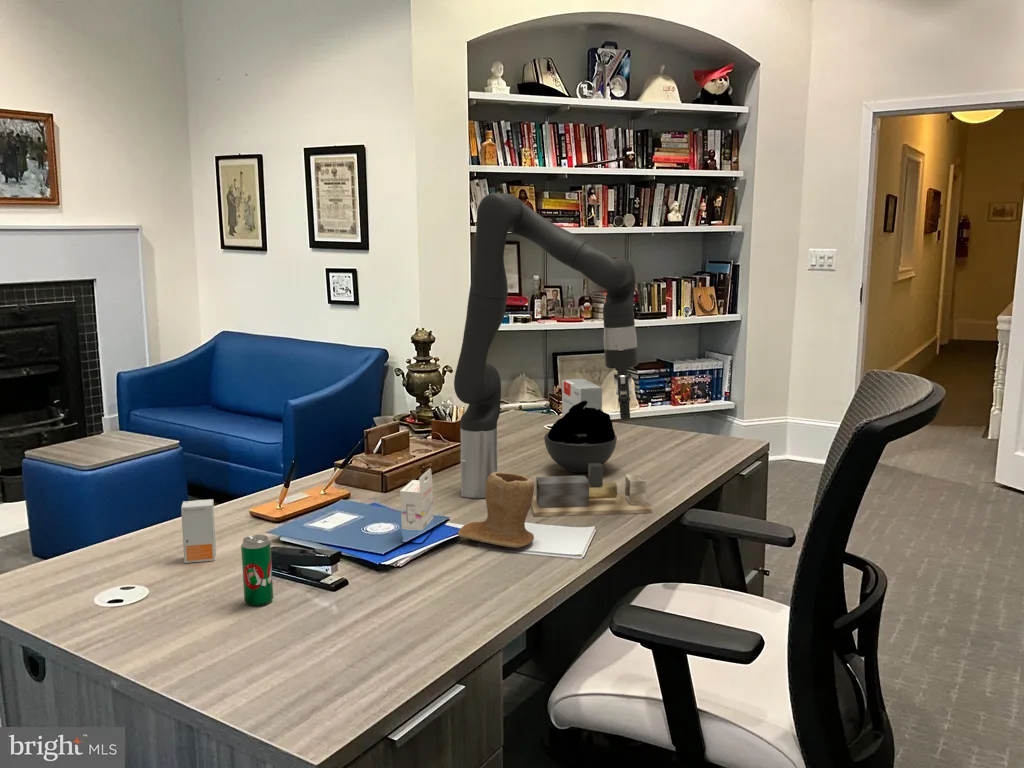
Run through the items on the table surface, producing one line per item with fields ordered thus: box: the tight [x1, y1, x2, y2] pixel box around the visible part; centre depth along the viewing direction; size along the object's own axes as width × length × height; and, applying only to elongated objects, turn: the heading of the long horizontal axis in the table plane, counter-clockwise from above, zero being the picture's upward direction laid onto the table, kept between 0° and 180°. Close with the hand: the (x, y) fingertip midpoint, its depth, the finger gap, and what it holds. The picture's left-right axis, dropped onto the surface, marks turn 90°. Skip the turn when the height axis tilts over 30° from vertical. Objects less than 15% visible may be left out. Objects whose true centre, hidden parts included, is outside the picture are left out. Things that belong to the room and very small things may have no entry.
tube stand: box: [530, 473, 652, 518], centre depth 208 cm, size 28×12×7 cm, turn 95°
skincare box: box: [180, 498, 217, 564], centre depth 175 cm, size 6×4×12 cm
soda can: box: [240, 534, 274, 607], centre depth 155 cm, size 5×5×12 cm
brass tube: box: [587, 463, 618, 499], centre depth 208 cm, size 17×4×8 cm, turn 95°
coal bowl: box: [544, 401, 618, 474], centre depth 238 cm, size 20×20×19 cm
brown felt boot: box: [457, 471, 535, 548], centre depth 185 cm, size 15×12×15 cm
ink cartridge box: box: [399, 467, 434, 531], centre depth 187 cm, size 9×5×15 cm, turn 168°
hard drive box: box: [561, 378, 603, 418], centre depth 266 cm, size 16×8×20 cm, turn 17°
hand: (625, 415), depth 199 cm, fingers open, 8 cm apart
